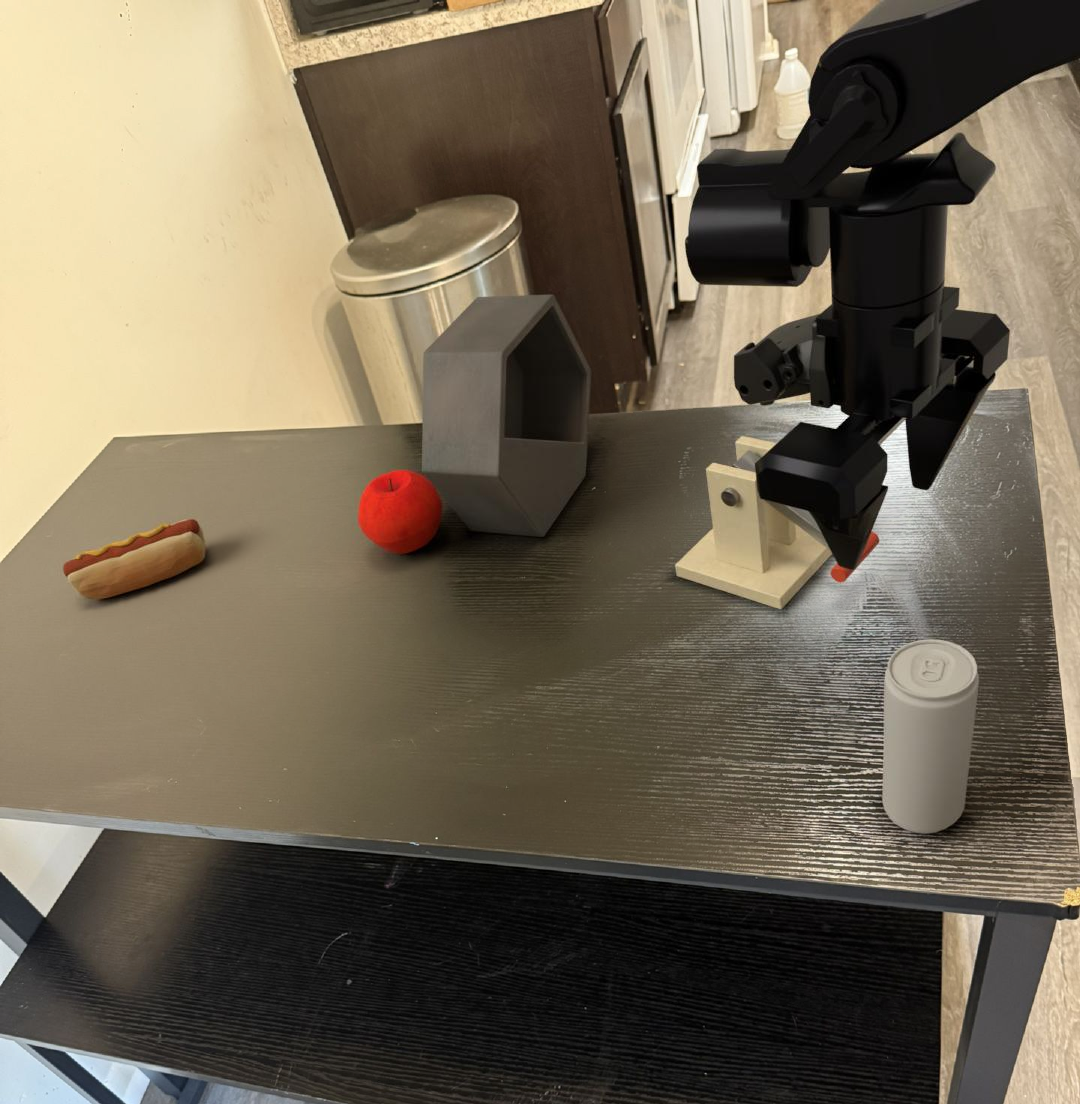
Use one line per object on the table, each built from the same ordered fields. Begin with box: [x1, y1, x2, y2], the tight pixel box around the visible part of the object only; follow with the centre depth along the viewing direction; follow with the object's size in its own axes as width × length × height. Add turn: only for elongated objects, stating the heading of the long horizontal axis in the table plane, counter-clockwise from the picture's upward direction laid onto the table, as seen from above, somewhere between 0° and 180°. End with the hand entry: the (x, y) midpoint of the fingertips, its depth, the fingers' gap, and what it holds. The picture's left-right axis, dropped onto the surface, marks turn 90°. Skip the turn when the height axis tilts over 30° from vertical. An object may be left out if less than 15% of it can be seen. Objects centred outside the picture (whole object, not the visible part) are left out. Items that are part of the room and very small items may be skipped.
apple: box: [357, 469, 443, 555], centre depth 94 cm, size 8×8×7 cm
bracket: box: [674, 435, 833, 610], centre depth 80 cm, size 10×9×10 cm
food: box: [62, 518, 207, 601], centre depth 101 cm, size 14×6×5 cm, turn 106°
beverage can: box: [881, 638, 980, 835], centre depth 58 cm, size 5×5×12 cm
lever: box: [731, 450, 880, 583], centre depth 77 cm, size 12×5×2 cm, turn 49°
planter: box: [421, 294, 592, 538], centre depth 91 cm, size 17×8×21 cm
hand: (885, 526), depth 64 cm, fingers open, 9 cm apart
